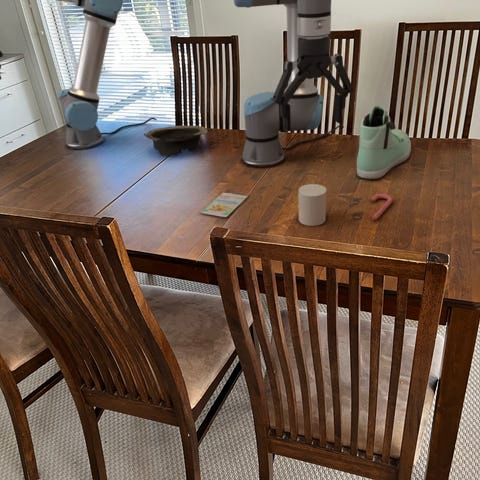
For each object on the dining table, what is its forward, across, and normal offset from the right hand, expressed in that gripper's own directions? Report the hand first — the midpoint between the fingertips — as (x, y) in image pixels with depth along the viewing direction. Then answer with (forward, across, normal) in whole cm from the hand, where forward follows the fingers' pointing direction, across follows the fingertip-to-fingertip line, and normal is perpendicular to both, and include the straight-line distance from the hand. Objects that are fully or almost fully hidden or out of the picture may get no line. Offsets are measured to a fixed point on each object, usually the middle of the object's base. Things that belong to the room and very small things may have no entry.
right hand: (312, 125), depth 121 cm
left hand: (-5, -93, +79) cm, 122 cm away
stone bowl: (+28, -28, +72) cm, 82 cm away
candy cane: (+27, +20, -2) cm, 33 cm away
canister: (+27, 0, -1) cm, 27 cm away
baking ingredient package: (+27, -22, +17) cm, 39 cm away
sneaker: (+28, +38, +29) cm, 55 cm away
